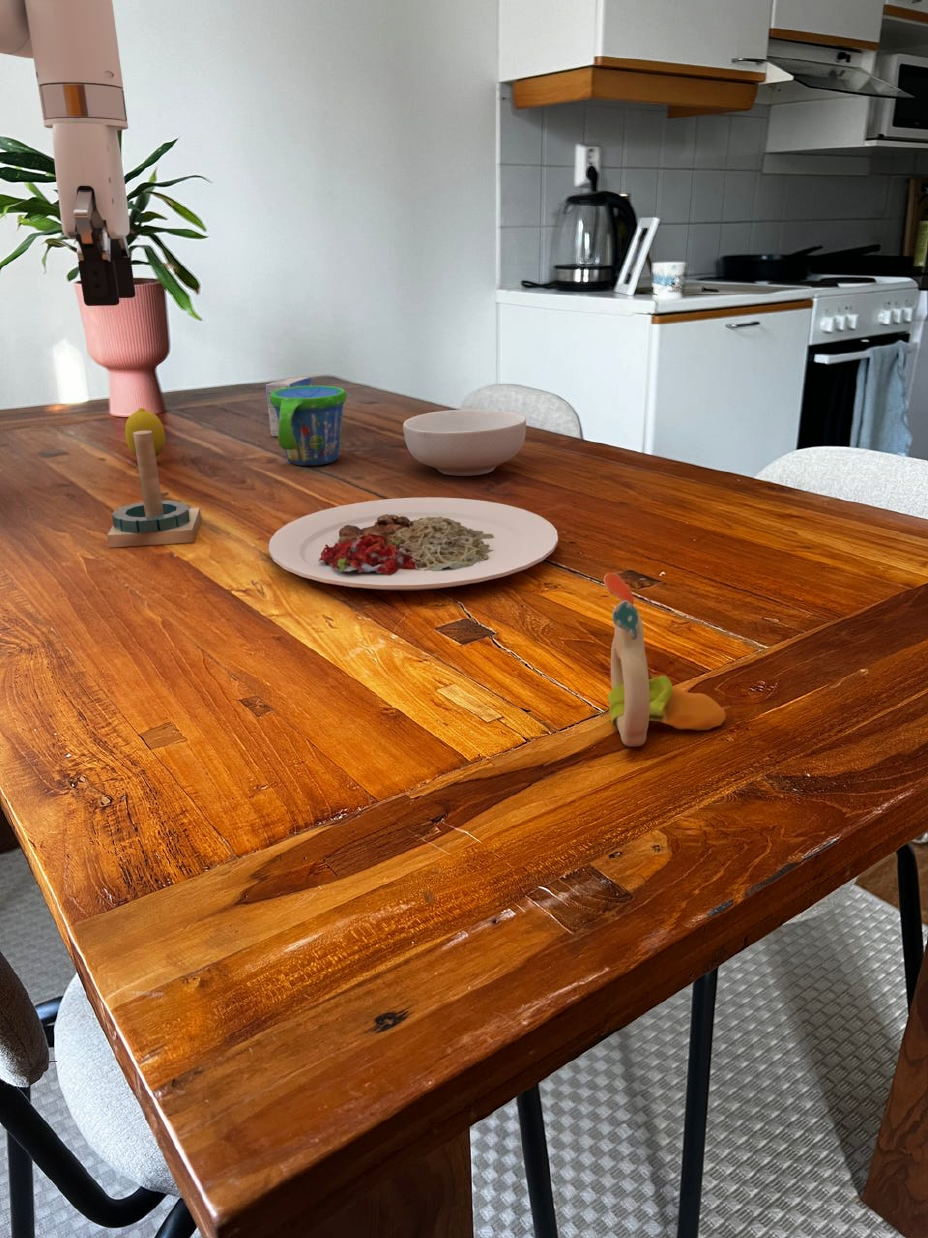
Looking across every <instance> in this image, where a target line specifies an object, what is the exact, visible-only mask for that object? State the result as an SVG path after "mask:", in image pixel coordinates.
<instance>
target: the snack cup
mask: <svg viewBox="0 0 928 1238" xmlns="http://www.w3.org/2000/svg"><path fill="white" fill-rule="evenodd" d="M347 396H348V395H347V392H346V390H345V389H344V388H342V387H339V386H332V385H312V386H297V387H289V388H283V389H279V390H276V391H273V392H272V393H271V395H270V401H271V404H273V406H274V408H275V410H276V413H277V419H278V422H279V430H278V437H277V443H278V446H279V447H280V448H281V449H283V450H284V452H285V456H286V458H287V462H288V463H291V464H294V465H295V466H301V467H304V466H305V467H314V466H315V467H316V466H324V465H329V464H332V463H334V462H336V460H338V459H339V457H340V451H341V441H342V439H341V438H342V424H343V416H344V415H343V414H344V412H343V411H344V404H345V402H346V400H347Z"/></svg>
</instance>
